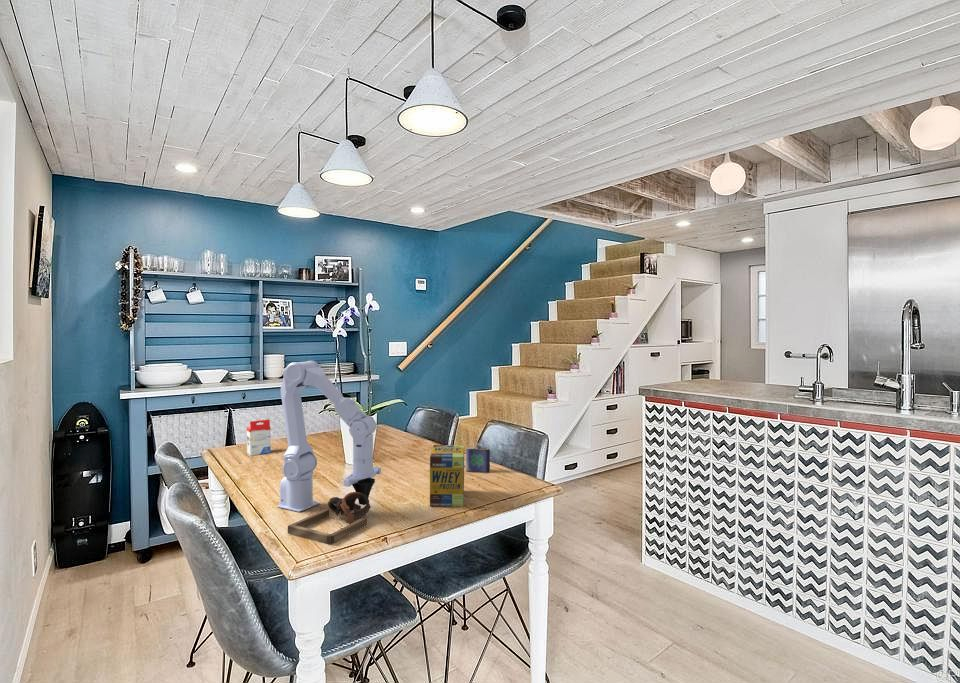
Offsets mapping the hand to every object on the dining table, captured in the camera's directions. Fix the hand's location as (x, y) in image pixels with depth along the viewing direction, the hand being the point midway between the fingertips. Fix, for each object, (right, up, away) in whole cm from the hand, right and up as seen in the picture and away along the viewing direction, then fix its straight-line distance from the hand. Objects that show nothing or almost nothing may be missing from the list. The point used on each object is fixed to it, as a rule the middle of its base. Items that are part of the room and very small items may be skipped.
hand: (363, 503), depth 146 cm
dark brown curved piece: (-3, -3, -5) cm, 6 cm away
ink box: (-61, -1, +68) cm, 91 cm away
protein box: (+24, -3, +12) cm, 27 cm away
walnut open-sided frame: (-6, -3, -13) cm, 14 cm away
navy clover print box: (+34, -2, +42) cm, 54 cm away
